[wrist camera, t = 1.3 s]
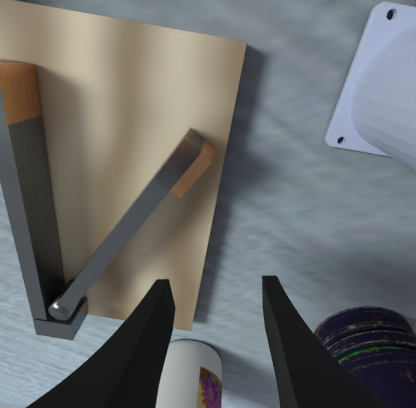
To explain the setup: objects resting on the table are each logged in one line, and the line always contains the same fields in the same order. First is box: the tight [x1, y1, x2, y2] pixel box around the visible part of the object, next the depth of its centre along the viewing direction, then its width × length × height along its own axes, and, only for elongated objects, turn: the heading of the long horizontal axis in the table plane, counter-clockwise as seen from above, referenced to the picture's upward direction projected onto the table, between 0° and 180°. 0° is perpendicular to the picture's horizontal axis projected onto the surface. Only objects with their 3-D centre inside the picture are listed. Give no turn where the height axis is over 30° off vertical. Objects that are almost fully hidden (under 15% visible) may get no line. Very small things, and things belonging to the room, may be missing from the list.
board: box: [0, 0, 247, 331], centre depth 21 cm, size 15×25×2 cm, turn 171°
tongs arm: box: [48, 127, 215, 320], centre depth 20 cm, size 2×19×3 cm, turn 141°
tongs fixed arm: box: [0, 58, 89, 340], centre depth 20 cm, size 4×21×3 cm, turn 171°
